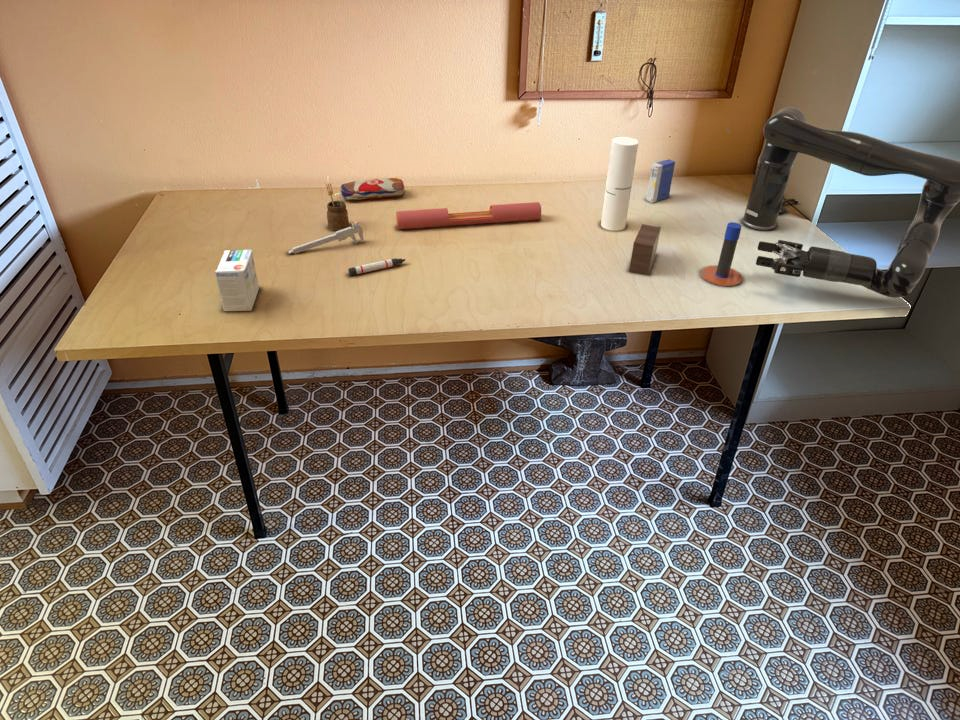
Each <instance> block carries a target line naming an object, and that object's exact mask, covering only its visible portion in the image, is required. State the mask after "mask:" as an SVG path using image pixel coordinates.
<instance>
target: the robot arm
mask: <svg viewBox="0 0 960 720" xmlns="http://www.w3.org/2000/svg"><path fill="white" fill-rule="evenodd" d="M762 130H763V131H762V133H763V137H764V139H765V143H764V146H763V148H762V151H761V153H760V155H759V157H758V160H757V164H756V168H755V172H754V175H753V180H752V183H751V186H750V187H751V188H750V191H749V196H748V199H747V204H746V207H745V211H744V213H743V217H742V220H741V222H742V224H743V225H744V226H745V227H748V228H750V229H754V230H756V231H757V230H758V231H770V230H774V229H775V228H776V226H777V221H778V217H779V216H781V215H783V214H785V213H786V212H787V208H786V207H785V206H784V205H785V204H786V203H794V204H796V205H797V204H799V201H798V200H797V201H795V199H796V198H787V199H785V200H784V197H785V194H786V191H787V187H788V183H789V180H790V177H791V172H792V169H793V166H794V164H795V162H796V159H797V157H798V154H804V155H806V156H811V157H813V158H816V159H818V160H821V161H823V162H826V163H829V164H832V165H834V166H837V167H840V168H842V169H845V170H848V171H851V172H853V173H856V174H860V175H862V176H866V177H867V176H868V177H880V176H889V175H891V176H892V175H910V176H914V177H917V178H921V179H924V180H926V181H925V183H924V184H923V186H922V189H921V194H920V198H919V202H918V207H917V210H916V212H915V216H914V218H913V219H912V222H911V223H910V224H909V226H908V228H907V230H906V231H905V233H904V235H903V237H902V239H901V241H900V243H899V245H898V247H897V250H896V254H895V256H894V258H893V259H892V262H891V263H890V265H889V266H888V268H887V269H886V270H882V269H880V268H877V266H878V263H877V260H876V259H875V258H874V257H871V256H867V255H861V254H856V253H855V254H854V253H848V252H845V251H842V250H837V249H831V248H825V247H819V246H810V247H809V248H808V250H807V251H806V250H804V249H803V246H804V244H803V243H798V242H793V241H788V240H783V239H778V240H777V242H775V243H773V242H766V241H761V240H760V241H758V244H757V251H761V252H767V253H773V254H775V255H778V257H779V258H774V257H767V256H762V255H758V256H757V257H756V261H755V265H756V266H760V267H765V268H771V270H773V273H774V274H776V275H781V276H788V277H795V278H801V275H802V277H804V278H808V279H809V278H810V279H815V280H821V281H825V282H826V281H827V282H831V283H844V284H848V285H854V286H861V287H863V288H865V289H868V290H870V291H872V292H875V293H876V294H879V295H881V296H885V297H887V298H893V299H897V298H898V299H899V298H904V297H907V296H908V295H910V294H911V293H912V291H913V289H915V287H916V286H917V284H918V283H919V282H920V280H921V278H922V276H923V275H924V273H925V270H926V268H927V265H928V261H929V259H930V257H931V255H932V253H933V251H934V249H935V246H936V244H937V242H938V240H939V238H940V233H941V227H942V224H943V222H944V220H945V219H946V217H947V216H948V215H949V214H950V213H951V212H952V210H953V209H954V208H955V206H956V205H958V203H959V202H960V161H959V160H957V159H954V158H950V157H949V158H948V157H944V156H939V155H935V154H930V153H925V152H921V151H917V150H913V149H911V148H907V147H903V146H900V145H896V144H895V143H894V144H893V143H890V142H887V141H884V140H882V139H879V138H876V137H874V136H869V135H867V134H863V133H859V132H854V131H845V130H834V129H832V130H831V129H826V128H820V127H818V126H814V125H812V124H809V123H807V119H806V116H805V114H804V113H803V112H802V110H801V109H799V108H797V107H794V106H787V107H784V108H781V109H779V110H777V112H775V113H774V114H773V115H772V116H770V118H769V119H768V120H766V122H765V124H764V126H763V129H762Z"/></svg>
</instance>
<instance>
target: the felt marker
mask: <svg viewBox="0 0 960 720" xmlns="http://www.w3.org/2000/svg"><path fill="white" fill-rule="evenodd" d="M742 228H743V225H742V224H741V223H738V222H735V221H732V222H731V221H729V222H727V225H726V229H725V232H724V236H723V237H724V239H723V242H722V247H721V250H720V255H719V260H718V263H717V265H716V266H717V270H716V276H718V277H720V278H727V277H728V276H729V272H730V268H731V267H732V265H733V260H734V256H735V252H736V249H737V244H738V241H739V239H740V235H741V230H742ZM731 269H732V268H731Z"/></svg>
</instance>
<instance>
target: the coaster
mask: <svg viewBox="0 0 960 720" xmlns="http://www.w3.org/2000/svg"><path fill="white" fill-rule="evenodd" d="M717 266H718V265H708V266H706V267H704V268H703V269H702V270H701V277H702V279H703V280H705V281H706V282H707V283H709V284H712V285H715V286H718V287H719V286H720V287H735V286H738V285H739V284H741V282H742V279H743V277H742V274H740V272H738V271H737V270H736V269H734V268H730V272H729V276H728V277H727V278H720V277H718V276H716V270H717Z"/></svg>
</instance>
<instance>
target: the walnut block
mask: <svg viewBox="0 0 960 720" xmlns="http://www.w3.org/2000/svg"><path fill="white" fill-rule="evenodd" d="M661 228H662V227H661V226H656V225H651V224H643V223H641V225H640V227H639V230H638V232H637V235H636V237H635V239H634V241H633V245H632V251H631V257H630V264H629V269H628V272H630V273H635V274H640V275H646V276H649V274H650V271H651V269H652V266H653V263H654V261H655V258H656V256H657V255H656V254H657V250H658V244H659V240H660V235H661V234H660V233H661Z"/></svg>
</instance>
